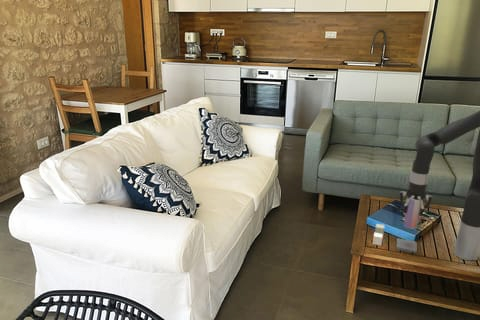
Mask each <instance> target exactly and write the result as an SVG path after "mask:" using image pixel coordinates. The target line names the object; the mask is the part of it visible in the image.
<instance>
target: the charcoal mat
mask: <svg viewBox="0 0 480 320" xmlns="http://www.w3.org/2000/svg"><path fill="white" fill-rule="evenodd" d="M417 244H418V243H417V241H413V240H409V239H403V238H399V237H398V238H396V250H399V251H404V252H409V253H413V254H417V253H418V245H417Z"/></svg>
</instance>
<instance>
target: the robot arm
mask: <svg viewBox="0 0 480 320" xmlns="http://www.w3.org/2000/svg"><path fill="white" fill-rule="evenodd" d="M478 128H480V109H479V110H477V111H476V112H475V113H472V114H469V115H468V116H465V117H463V118H460V119H459V118H458V119H457V120H455V121H454V120H453V121H452V122H449V123H447V124H446V125H444V126H443V127H441V128H439V129H437V130H436V131H433V132H431V133H427V134H425V135H423V136H420V137H419V138H418V139H417V140H416V142H415V143H414V144H415V145H414V146H415V149H416V154H415V155H416V156H415V159H414V160H413V162H412V168H411V172H410V175H409V181H408V187H407V190H406V191H403V190H400V191H399V194H400V195H399V200H400V202H399V203H400V205H403V209H402V211H403V213H404V214H406V211H407V205H408V203H409V200H410V198H411V199H413V198H414V199H418V200H421V199H422V200H421V209H420V214H419V217H420V216H422V215H423V214H424V210H425V209H429V207H430V205H431V203H432V200H433V196H432V195H431V194H429V195H428V194H427V193H426V192H427V187H428V182H429V175H430V170H431V169H430V167H431V163H432V160H433V157H434V155H435V150H436V149H435V148H436V147H438V146H439V145H444V146H445V145H447V144H449V143H451V142H453V141H454V140H456V139H458V138H460V137H461V136H462V137H463V136H464V135H466V134H467V133H470V132H472V131H474V130H476V129H478ZM478 130H479V131H478V133H477V134H478V135H477V139H476V144H475V149H474V153H473V157H472V176H471V181H470V185H469V187H468V190H467V192H466V195H465V200H464V206H463V211H462V214H461V218H460V222H459V228H458V232H457V236H456V240H455V245H454V248H453V254H454V255H455V257H457V258H459V259H461V260H464V261H477V260H478V257H479V253H480V129H478ZM406 196H407V198H406V199H405V200H404V197H406ZM408 198H409V199H408ZM425 198H426V202H425V204H424V202H423V200H425Z"/></svg>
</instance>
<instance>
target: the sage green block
mask: <svg viewBox="0 0 480 320" xmlns="http://www.w3.org/2000/svg"><path fill="white" fill-rule="evenodd" d="M374 230H375V231H374V232H375V233H380V234H383V235H384V232H385V225H384V224H381V223H376V224H375V229H374Z"/></svg>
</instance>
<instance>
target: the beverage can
mask: <svg viewBox="0 0 480 320" xmlns="http://www.w3.org/2000/svg"><path fill="white" fill-rule="evenodd" d="M407 198H408V197H407ZM408 199H409V198H408ZM421 200H422V199H421ZM421 200H418V199H414V198H413V199H411V198H410V200H409V203H408V205H407V211H406V213H405V217H404V221H403V226H404V227H405V228H407V229H411V230H414V229H417V228H418V226H419V225H418V224H419V221H420V216H419V214H420V209H421ZM422 201H423V200H422Z"/></svg>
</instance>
